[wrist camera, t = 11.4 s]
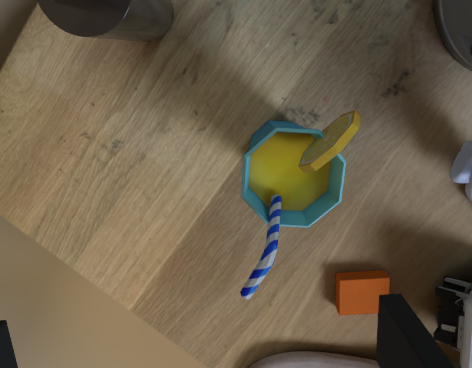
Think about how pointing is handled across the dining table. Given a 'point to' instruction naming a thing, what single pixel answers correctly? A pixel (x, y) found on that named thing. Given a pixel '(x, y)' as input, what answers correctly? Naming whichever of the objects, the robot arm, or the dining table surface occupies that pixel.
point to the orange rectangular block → (360, 291)
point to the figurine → (313, 361)
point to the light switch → (456, 318)
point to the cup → (293, 179)
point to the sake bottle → (111, 18)
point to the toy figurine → (463, 168)
